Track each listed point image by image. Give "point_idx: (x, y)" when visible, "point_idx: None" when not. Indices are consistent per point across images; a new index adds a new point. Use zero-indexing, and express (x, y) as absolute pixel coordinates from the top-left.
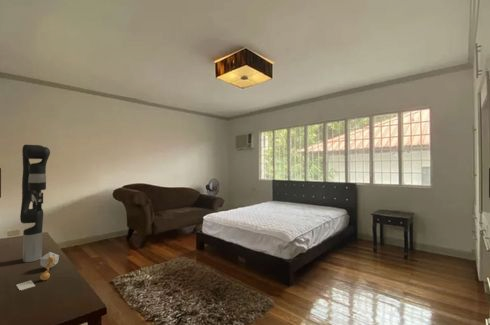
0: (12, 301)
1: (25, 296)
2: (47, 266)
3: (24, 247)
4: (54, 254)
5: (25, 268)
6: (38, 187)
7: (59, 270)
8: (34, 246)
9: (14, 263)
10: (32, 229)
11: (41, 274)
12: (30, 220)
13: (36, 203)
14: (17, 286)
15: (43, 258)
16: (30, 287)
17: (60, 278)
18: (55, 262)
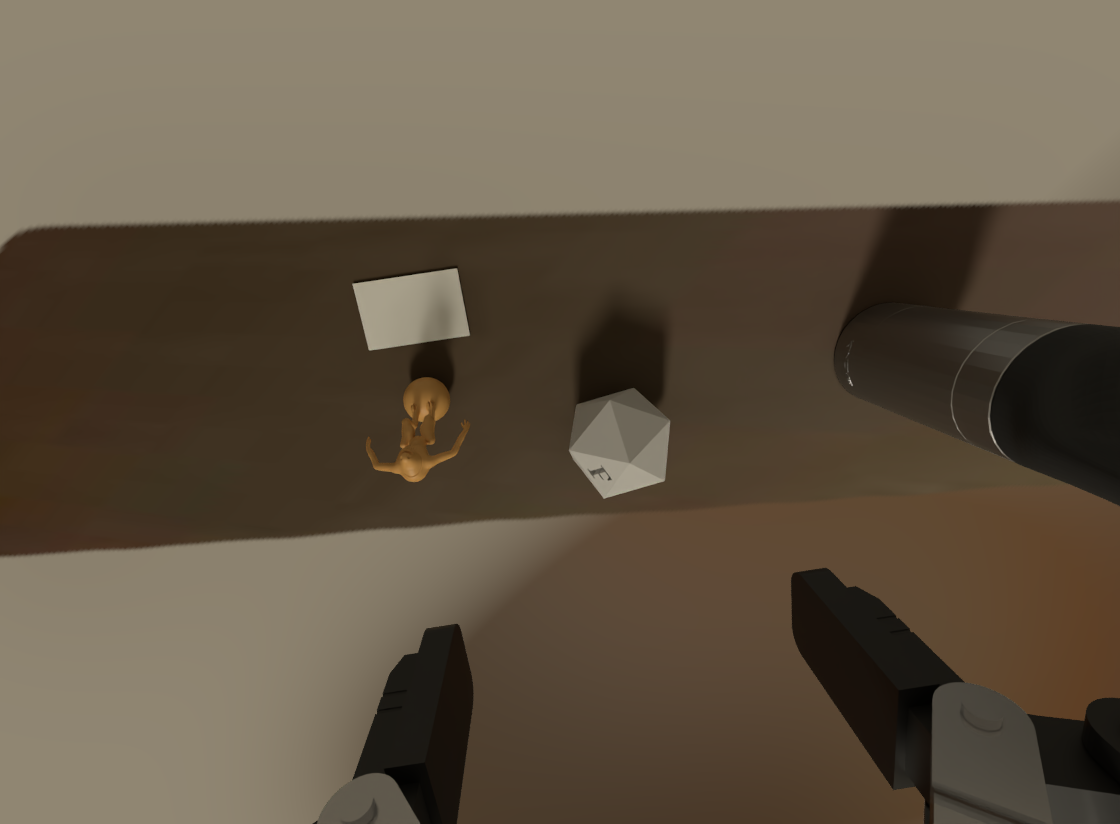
0: (225, 254)
1: (252, 306)
2: (403, 427)
3: (942, 320)
4: (609, 479)
5: (725, 313)
6: None
7: (533, 464)
8: (902, 382)
9: (893, 258)
10: (1044, 408)
11: (423, 387)
12: None
13: (338, 820)
14: (422, 274)
15: (600, 416)
16: (364, 329)
17: None
18: (577, 464)
